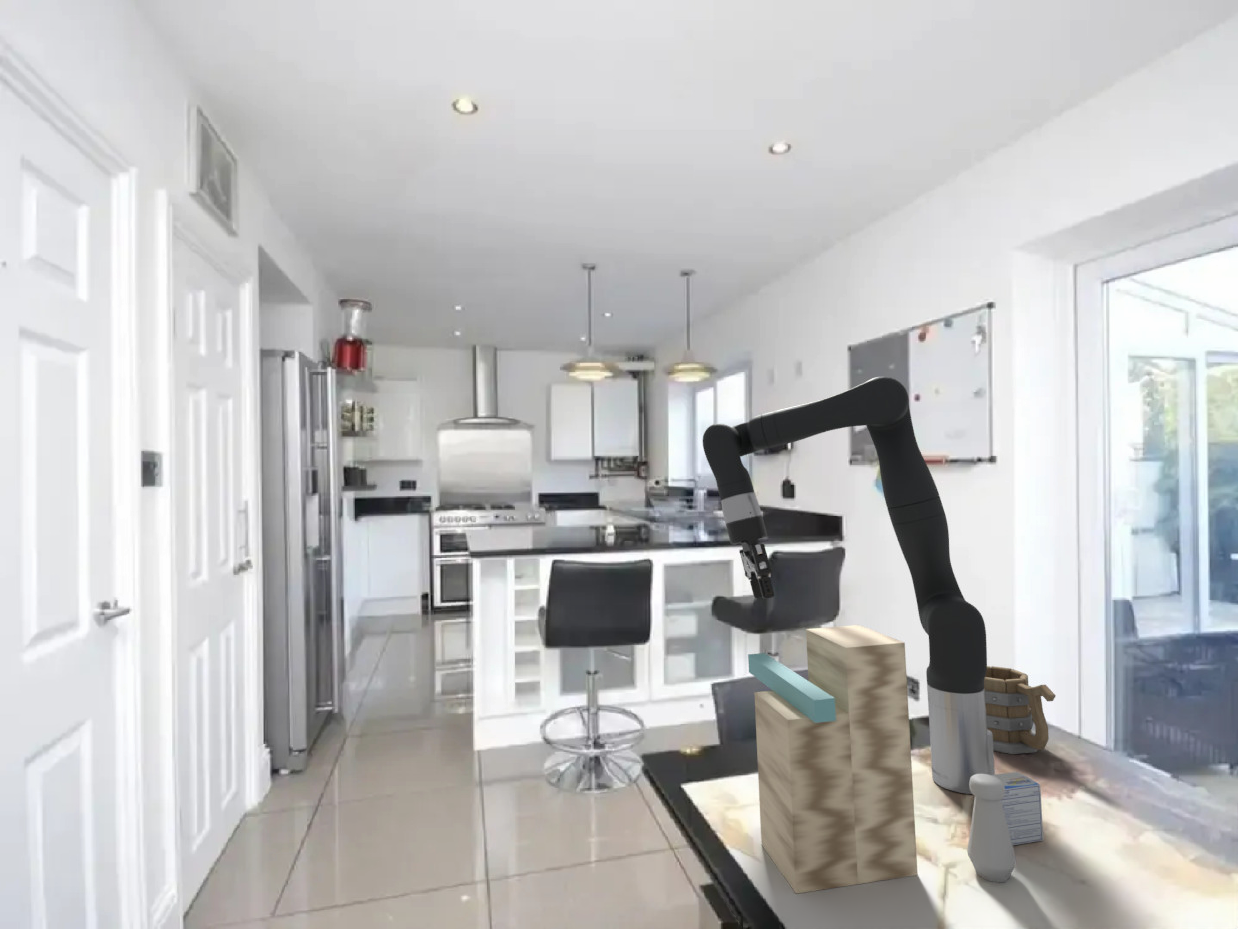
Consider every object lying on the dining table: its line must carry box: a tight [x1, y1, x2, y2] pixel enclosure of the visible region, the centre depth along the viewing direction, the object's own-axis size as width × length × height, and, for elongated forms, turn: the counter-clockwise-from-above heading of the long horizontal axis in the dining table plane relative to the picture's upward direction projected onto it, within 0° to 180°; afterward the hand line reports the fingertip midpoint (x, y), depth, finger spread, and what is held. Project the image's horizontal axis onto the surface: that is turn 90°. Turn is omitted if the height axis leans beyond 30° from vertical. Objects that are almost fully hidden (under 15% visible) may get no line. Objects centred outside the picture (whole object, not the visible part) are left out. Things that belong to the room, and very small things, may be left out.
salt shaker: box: [966, 774, 1017, 883], centre depth 87 cm, size 6×6×13 cm
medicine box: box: [991, 771, 1044, 846], centre depth 95 cm, size 8×4×9 cm, turn 100°
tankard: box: [984, 665, 1056, 755], centre depth 126 cm, size 20×13×15 cm, turn 6°
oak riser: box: [753, 624, 919, 894], centre depth 92 cm, size 18×12×32 cm, turn 100°
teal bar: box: [747, 652, 836, 723], centre depth 96 cm, size 3×24×3 cm, turn 10°
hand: (764, 597), depth 125 cm, fingers open, 8 cm apart
